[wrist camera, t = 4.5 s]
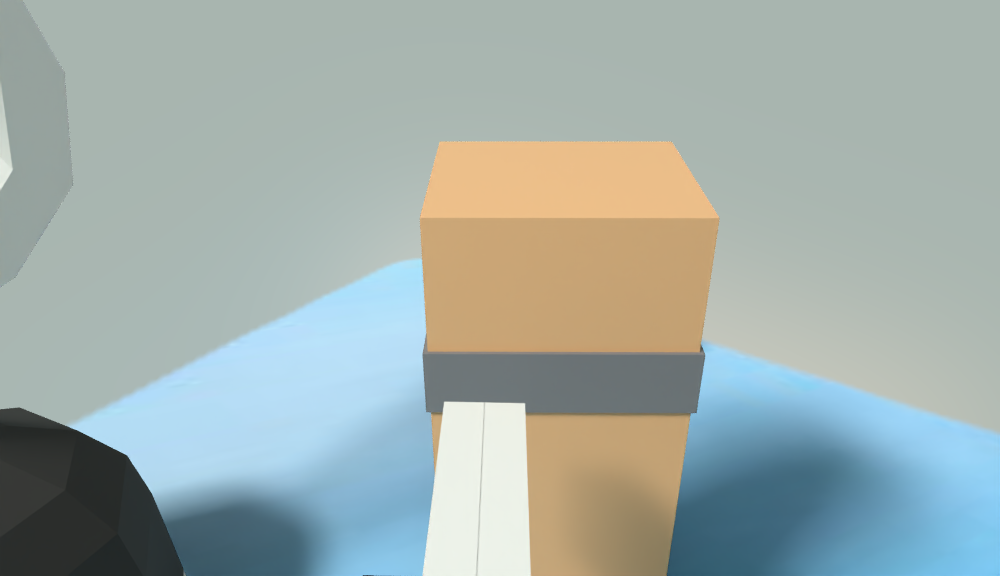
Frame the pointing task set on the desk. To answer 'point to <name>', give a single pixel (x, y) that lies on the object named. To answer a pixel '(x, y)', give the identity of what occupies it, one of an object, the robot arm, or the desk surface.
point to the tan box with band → (574, 330)
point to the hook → (27, 436)
